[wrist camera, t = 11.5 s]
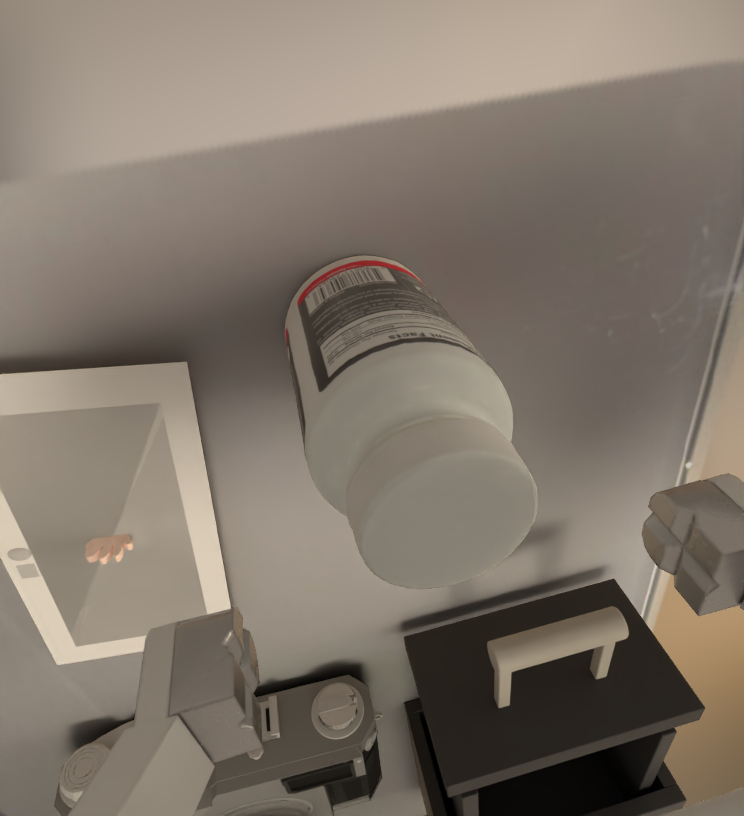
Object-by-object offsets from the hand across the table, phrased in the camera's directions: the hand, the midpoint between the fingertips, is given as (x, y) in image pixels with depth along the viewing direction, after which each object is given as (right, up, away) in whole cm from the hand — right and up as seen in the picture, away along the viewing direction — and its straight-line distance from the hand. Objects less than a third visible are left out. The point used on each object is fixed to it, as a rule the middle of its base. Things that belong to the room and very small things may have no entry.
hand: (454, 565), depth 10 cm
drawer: (+7, -11, +22) cm, 26 cm away
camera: (-10, -17, +23) cm, 30 cm away
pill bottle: (-2, +6, +9) cm, 11 cm away
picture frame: (-12, -1, +11) cm, 17 cm away
